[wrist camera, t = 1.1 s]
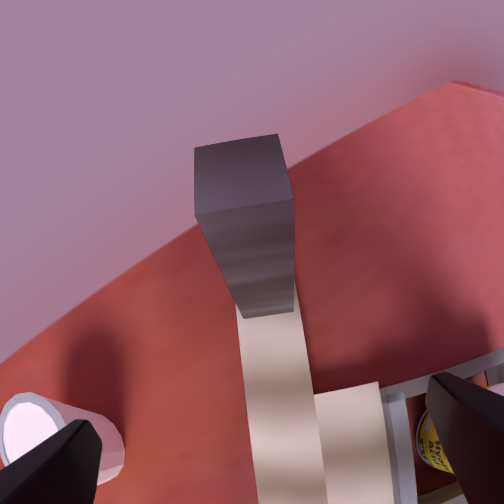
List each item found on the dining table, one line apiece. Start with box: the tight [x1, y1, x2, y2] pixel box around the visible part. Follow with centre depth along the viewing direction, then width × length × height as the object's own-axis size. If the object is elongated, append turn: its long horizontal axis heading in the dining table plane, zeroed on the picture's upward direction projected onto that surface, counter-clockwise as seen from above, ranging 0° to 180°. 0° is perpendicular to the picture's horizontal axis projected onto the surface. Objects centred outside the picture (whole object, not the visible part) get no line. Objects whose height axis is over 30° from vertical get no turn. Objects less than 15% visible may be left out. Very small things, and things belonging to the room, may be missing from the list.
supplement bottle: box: [416, 383, 504, 474], centre depth 12 cm, size 5×5×10 cm
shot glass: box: [0, 392, 125, 485], centre depth 15 cm, size 7×7×7 cm
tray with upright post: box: [194, 134, 504, 504], centre depth 13 cm, size 19×18×13 cm
